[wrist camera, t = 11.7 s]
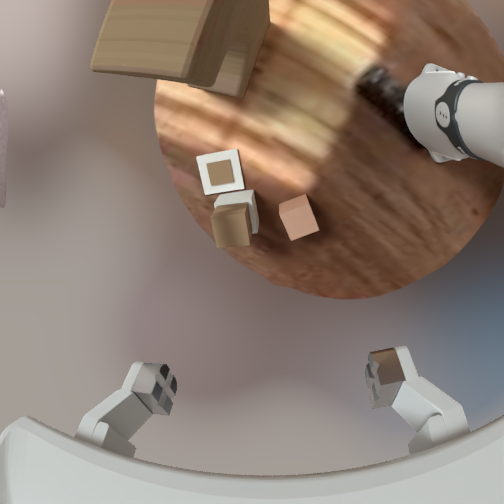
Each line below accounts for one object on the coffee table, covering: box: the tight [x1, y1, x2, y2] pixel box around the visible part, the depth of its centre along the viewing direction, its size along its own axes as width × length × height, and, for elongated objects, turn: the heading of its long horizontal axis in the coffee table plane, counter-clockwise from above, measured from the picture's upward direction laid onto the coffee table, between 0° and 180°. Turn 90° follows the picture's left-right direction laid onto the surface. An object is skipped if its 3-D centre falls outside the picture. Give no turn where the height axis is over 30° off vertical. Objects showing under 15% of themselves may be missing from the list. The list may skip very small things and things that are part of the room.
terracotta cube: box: [279, 194, 319, 241], centre depth 46 cm, size 5×5×5 cm
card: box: [197, 149, 244, 195], centre depth 45 cm, size 7×7×1 cm
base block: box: [214, 190, 259, 234], centre depth 46 cm, size 6×6×5 cm
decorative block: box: [90, 0, 270, 99], centre depth 22 cm, size 15×8×30 cm, turn 163°
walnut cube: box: [210, 202, 253, 248], centre depth 42 cm, size 5×5×5 cm
